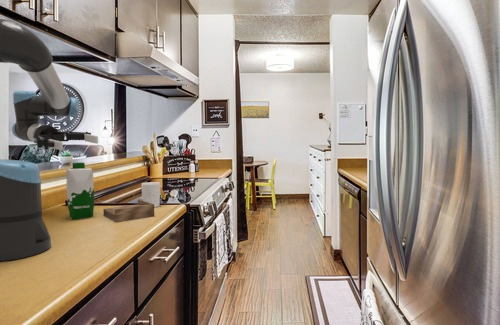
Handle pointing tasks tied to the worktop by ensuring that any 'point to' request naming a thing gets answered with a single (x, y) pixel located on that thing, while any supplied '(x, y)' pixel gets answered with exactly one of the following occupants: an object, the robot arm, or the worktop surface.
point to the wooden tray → (130, 211)
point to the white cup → (151, 192)
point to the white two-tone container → (80, 191)
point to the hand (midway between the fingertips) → (80, 142)
